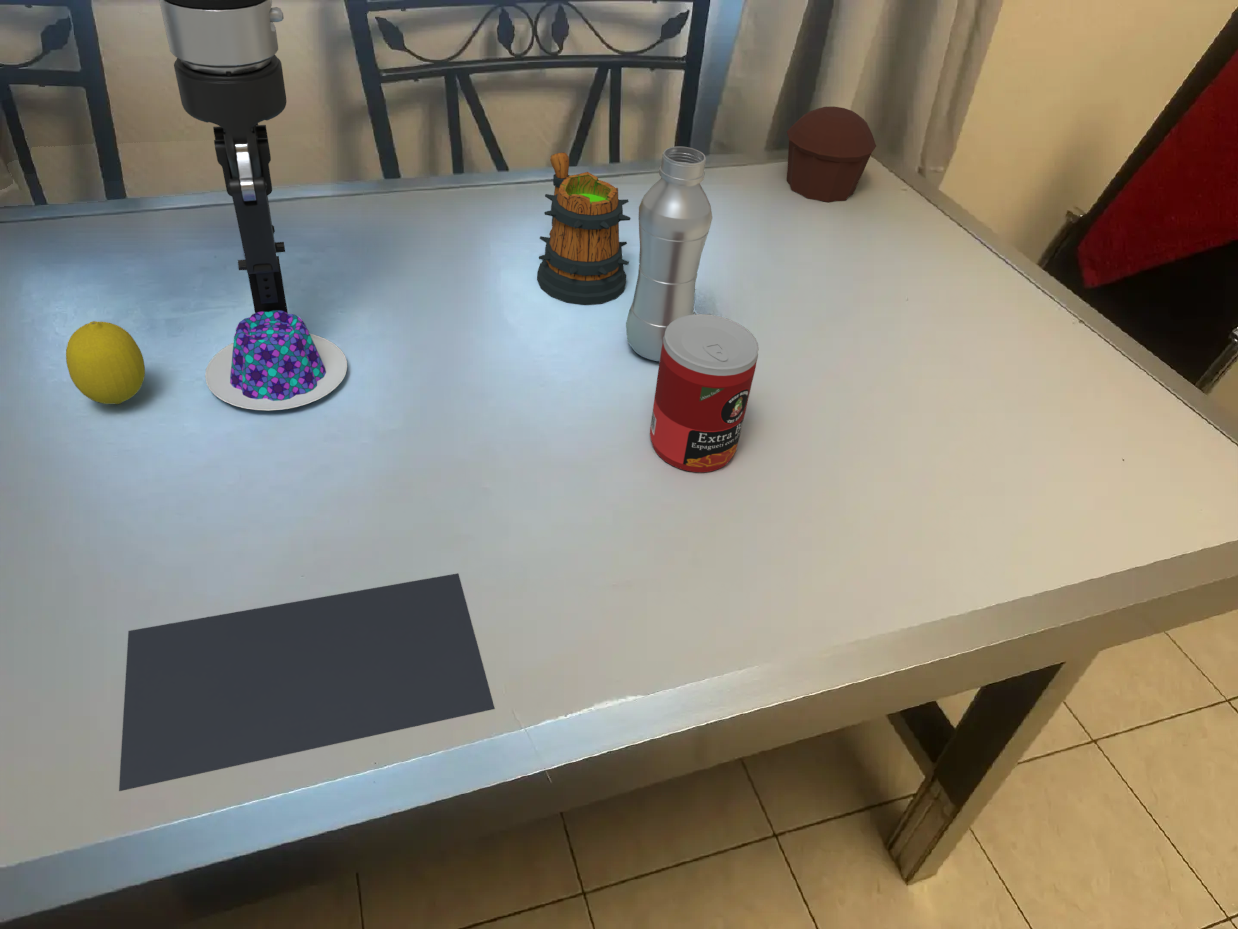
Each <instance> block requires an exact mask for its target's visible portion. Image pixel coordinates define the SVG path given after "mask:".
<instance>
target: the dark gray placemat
mask: <svg viewBox="0 0 1238 929" xmlns="http://www.w3.org/2000/svg"><path fill="white" fill-rule="evenodd" d="M126 648H127V651H126V664H125V666H126V667H125V682H124V685H125V686H124V701H123V715H122V716H123V717H122V733H121V734H122V735H121V749H120V769H119V785H118V792H122V791H126V790H132V789H135V788H141V787H145V786H149V785H154V784H158V783H163V782H168V781H172V780H177V779H181V778H186V777H191V776H196V775H200V774H204V773H205V774H206V773H210V772H213V771H218V770H222V769H223V770H224V769H227V768H228V769H229V768H232V767H237V766H240V765H246V764H250V763H255V762H259V761H263V760H269V759H273V758H277V757H282V756H286V755H291V754H296V753H301V752H305V751H309V750H315V749H318V748H323V747H328V746H333V745H337V744H341V743H345V742H351V741H355V740H360V739H365V738H369V737H373V736H379V735H383V734H387V733H392V732H396V731H401V730H405V729H410V728H415V727H418V726H419V727H420V726H424V725H428V724H433V723H436V722H441V721H446V720H452V719H455V718H461V717H465V716H468V715H473V714H478V713H484V712H487V711H492V710H495V709H496V708H495V704H494V701H493V698H492V694H491V689H490V686H489V682H488V679H487V675H486V671H485V668H484V663H483V661H482V657H481V652H480V649H479V646H478V642H477V638H476V634H475V631H474V627H473V623H472V619H471V615H470V611H469V608H468V604H467V601H466V597H465V593H464V590H463V585H462V582H461V578H460V575H459V573H451V574H447V575H440V576H435V577H428V578H424V579H417V580H412V581H407V582H400V583H395V584H389V585H383V586H378V587H373V588H366V589H360V590H355V591H348V592H344V593H338V594H337V593H336V594H332V595H325V596H322V597H321V596H319V597H315V598H310V599H309V598H308V599H303V600H297V601H292V602H286V603H280V604H274V605H269V606H263V607H257V608H251V609H246V610H240V611H235V612H229V613H228V612H227V613H222V614H217V615H212V616H206V617H200V618H195V619H189V620H182V621H177V622H172V623H165V624H160V625H154V626H147V627H144V628H138V629H131V630H128V634H127V647H126Z"/></svg>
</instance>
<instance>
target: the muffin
mask: <svg viewBox="0 0 1238 929" xmlns="http://www.w3.org/2000/svg"><path fill="white" fill-rule="evenodd" d="M786 134H787V136H788V153H787V166H786V167H787V170H786V182H787V183H788V186H789V189H790V191H792V192H795V193H797V194H799V195H800V196H802V197H804V198H805V199H808V200H815V201H816V200H817V201H821V202H825V203H833V202H843V201H844V202H845V201H847V200H848V199H849V197H851V196H852V195H853V194H854V193H855V191H856V189H857V186H858V184H859V183H860V180H861V177H862V176H863V173H864V171H865V169H866V167H867V164H868V162H869V160H870V158H871V155H872V154H873V152H874V151H875V149H876V147H877V144H876V141H875V138H874V135H873V133H872V130H871V128H870V127H869V124H868V122H867V121H866V120H865V119H864V118H863V117H862V116H860V115H859V114H858V113H856V112H855V111H853V110H851V109H848V108H845V107H841V106H834V105H833V106H822V107H819V108H816V109H813V110H810V111H807V112H806V113H805V114H803V115H802V116H801V117H800V118H799V119H798V120H796V122H795V123H793V124H792V125H791V126H790V128H788V129H787V131H786Z"/></svg>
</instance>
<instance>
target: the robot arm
mask: <svg viewBox="0 0 1238 929" xmlns="http://www.w3.org/2000/svg"><path fill="white" fill-rule="evenodd" d="M158 2H159V6H160V12H161V16H162V20H163V25H164V30H165V35H166V39H167V45H168V48H169V52H170V53H171V54H172V56H174V57H175V58H176V60H175V61H174V63H173V68H174V73H175V78H176V83H177V87H178V92H179V97H180V101H181V105H182V108H183V110H184V111H185V112H186V113H187V114H188V115H189V116H191V117H192V118H193V119H196V120H198V121H200V122H203V123H206V124H207V123H211V124H213V125H217V126H212V128H213V136H214V140H213V143H214V149H215V156H216V161H217V163H218V164H219V166H220V167H221V169H222V174H223V180H224V184H225V188H226V193H227V195H229V197H231V198H232V202H233V203H232V204H233V207H234V211H235V217H236V221H237V226H238V231H239V237H240V241H241V245H242V246H241V247H242V250H243V256H244V259H237V269H238V271H239V272H242V271H246V273H247V277H248V284H249V288H250V293H251V299H252V303H253V309H254V313H257V312H261V311H265V312H270V311H273V310H281V311H285V312H286V313H287V314H289V312H288V306H287V298H286V291H285V287H284V279H283V274H282V268H281V262H280V255H278V253H279V254H280V253H286V248H285V247H286V246H285V242H284V241H276V240H275V235H274V234H275V232H276V229H275V226H274V225H273V222H272V216H271V208H270V203H269V202H270V201H269V195H271V193H272V192H273V184H272V178H271V171H270V163H271V160H272V157H271V149H270V143H269V137H268V131H267V125H266V124H260V123H262V122H263V121H271V120H273V119H274V118H276V117H278V116H279V115H280V114H282V112H283V111H284V110H285V109H286V106H287V93H286V87H285V80H284V73H283V72H284V71H283V64H282V61H281V60H280V59H279V57H278V56H277V55H276V54H277V52H278V51H279V43H278V35H277V27H276V25H275V23H280V22H282V21H284V17H285V16H284V12H283V11H282V8H281V7H277V6H275V7H272V6H273V0H158Z"/></svg>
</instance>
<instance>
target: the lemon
mask: <svg viewBox="0 0 1238 929" xmlns="http://www.w3.org/2000/svg"><path fill="white" fill-rule="evenodd" d="M66 344H67V345H66V348H65V351H66V352H65V359H66V361H65V362H66V366H67V370H68V373H69V377H70V379H71V381H72V383H73V385H74V386H75V387H76V389H77V390H78V391H79V392H80V393H81V394H82V395H83V396H85V397H86V398H88V399H89V400H91V401H93V402H97V403H100V404H104V405H121V404H122V403H123V402H126V401H128V400H130V399H131V398H132V397H134V396H135V395H136V394H137V393H138V392H139V391H140V389H141V388H142V386H143V383H144V380H145V377H146V376H145V375H146V368H145V360H144V359H145V358H144V355H143V353H142V351H141V349H140V347H139V345H138V343H137V342H136V340H135V339H134V338H133V336H132V335H131V334H130V333H129V332H128V331H127V330H126V329H125V328H123V327H121V325H118V324H115V323H113V322H109V321H96V320H92V321H90V322H88V323H85V324H83V325H82V326H80V327H78V328H77V329H76V330H75V331H74V332H73V333H72V334H71V336H70V337H69V339H68V341H67V343H66Z"/></svg>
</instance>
